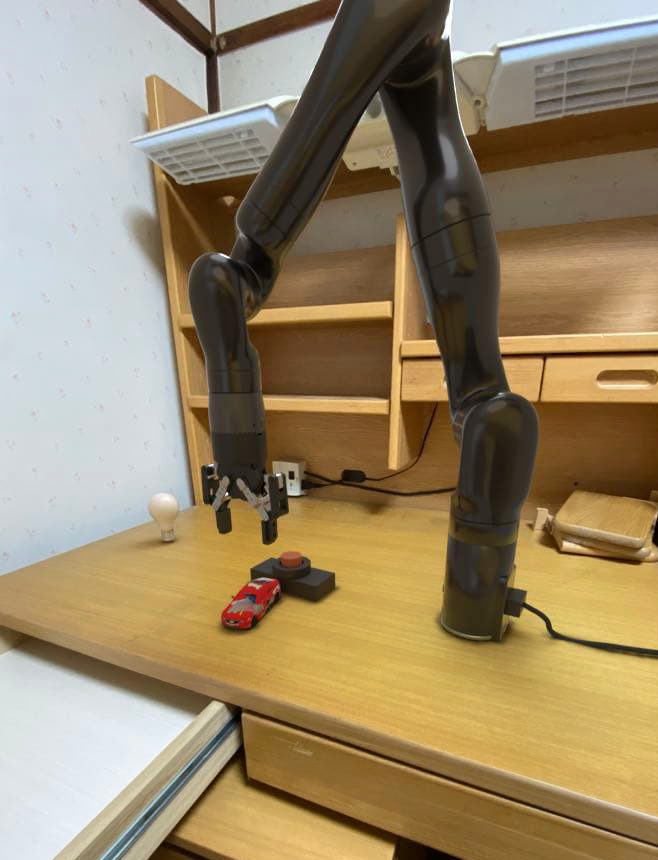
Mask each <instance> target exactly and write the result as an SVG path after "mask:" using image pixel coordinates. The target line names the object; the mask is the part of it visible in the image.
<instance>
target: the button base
mask: <svg viewBox="0 0 658 860" xmlns="http://www.w3.org/2000/svg"><path fill="white" fill-rule="evenodd" d="M249 573H250V582H251V581H252V580H255V579H258V578H271V579H276V580H278V581H279V583H280V586H281V593H284V594H289V595H291V596H295V597H298V598H301V599H305V600H308V601H312V602H314V603H316V602H319V601H320V600H321V599H323V597H325V596H326V595H328V594H329V593H330V592H331V591H333V590H334V589H336V573H335V572H333V571H329V570H325V569H321V568H316V567H313V566H312V561H311V559H309V558H308V557H307V556H303V555H302V565H300V566H297V567H283V566H282V565H281V556H278V557H277V558H276V557H269V558H267V559H265V560H263V561H262V562H260V563H258V564H256V565H254V566H252V567H251V568H249Z"/></svg>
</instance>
